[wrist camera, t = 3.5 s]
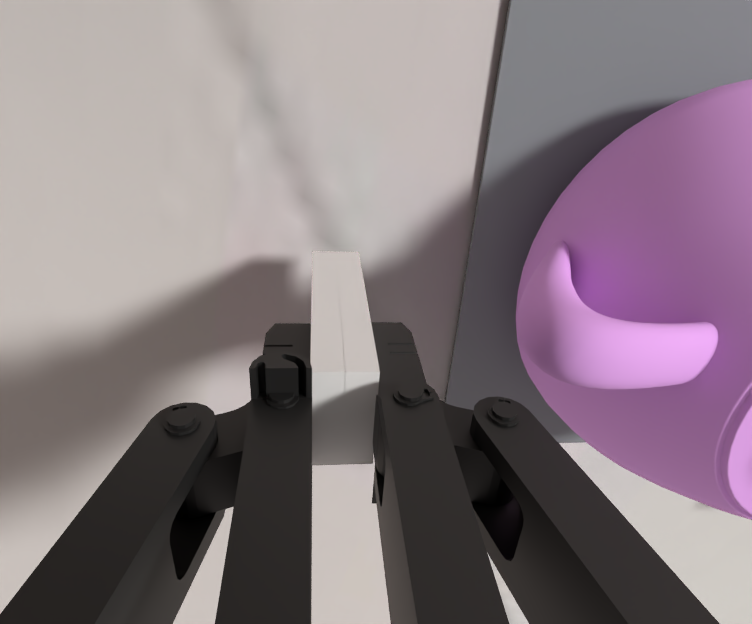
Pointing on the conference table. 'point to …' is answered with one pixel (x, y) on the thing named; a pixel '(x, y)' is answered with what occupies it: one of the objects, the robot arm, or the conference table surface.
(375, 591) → the conference table surface
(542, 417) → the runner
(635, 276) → the teapot
